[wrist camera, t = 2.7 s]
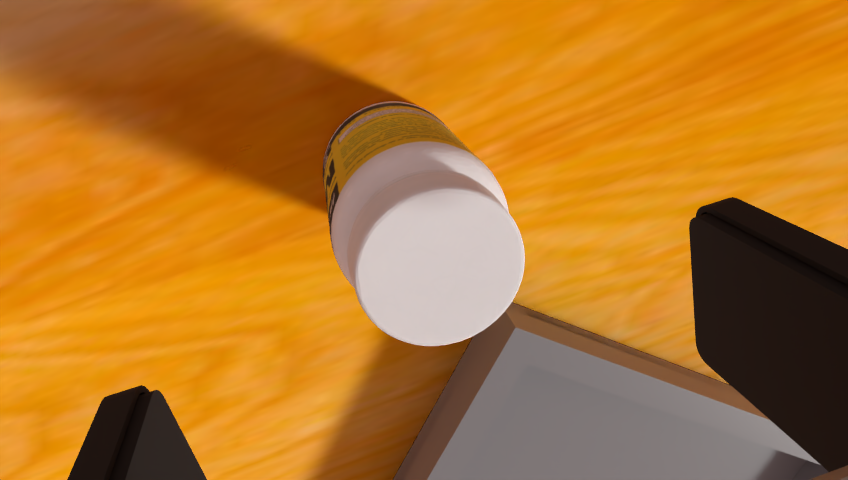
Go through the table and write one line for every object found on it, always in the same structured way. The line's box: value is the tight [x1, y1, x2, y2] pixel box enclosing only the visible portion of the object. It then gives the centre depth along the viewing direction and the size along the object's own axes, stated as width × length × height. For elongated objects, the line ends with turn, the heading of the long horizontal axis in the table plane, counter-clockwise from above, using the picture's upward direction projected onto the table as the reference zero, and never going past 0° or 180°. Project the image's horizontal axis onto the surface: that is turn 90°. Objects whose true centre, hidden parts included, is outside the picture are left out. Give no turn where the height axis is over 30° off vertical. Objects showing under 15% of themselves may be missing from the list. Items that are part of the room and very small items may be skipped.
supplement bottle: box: [323, 101, 525, 346], centre depth 18 cm, size 5×5×8 cm
